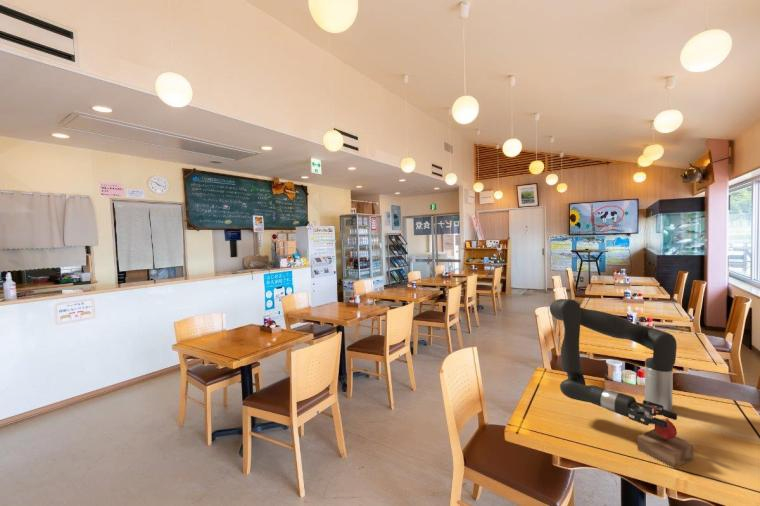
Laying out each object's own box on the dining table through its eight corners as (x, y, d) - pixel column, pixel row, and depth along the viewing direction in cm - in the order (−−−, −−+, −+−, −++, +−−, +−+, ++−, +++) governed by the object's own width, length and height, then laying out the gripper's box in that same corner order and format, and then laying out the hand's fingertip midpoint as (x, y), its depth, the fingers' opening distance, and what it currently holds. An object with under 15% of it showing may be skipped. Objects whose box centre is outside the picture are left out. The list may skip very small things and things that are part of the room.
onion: (649, 434, 122) (651, 413, 121) (664, 433, 123) (666, 412, 122) (664, 445, 117) (666, 423, 116) (680, 444, 117) (682, 421, 116)
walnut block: (655, 441, 127) (656, 427, 127) (693, 458, 117) (693, 444, 117) (637, 450, 123) (637, 436, 122) (674, 468, 113) (674, 453, 112)
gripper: (609, 398, 127) (664, 417, 113) (626, 387, 135) (679, 403, 121) (609, 418, 127) (664, 439, 114) (626, 406, 135) (679, 424, 122)
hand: (672, 421), depth 118 cm, fingers open, 8 cm apart
